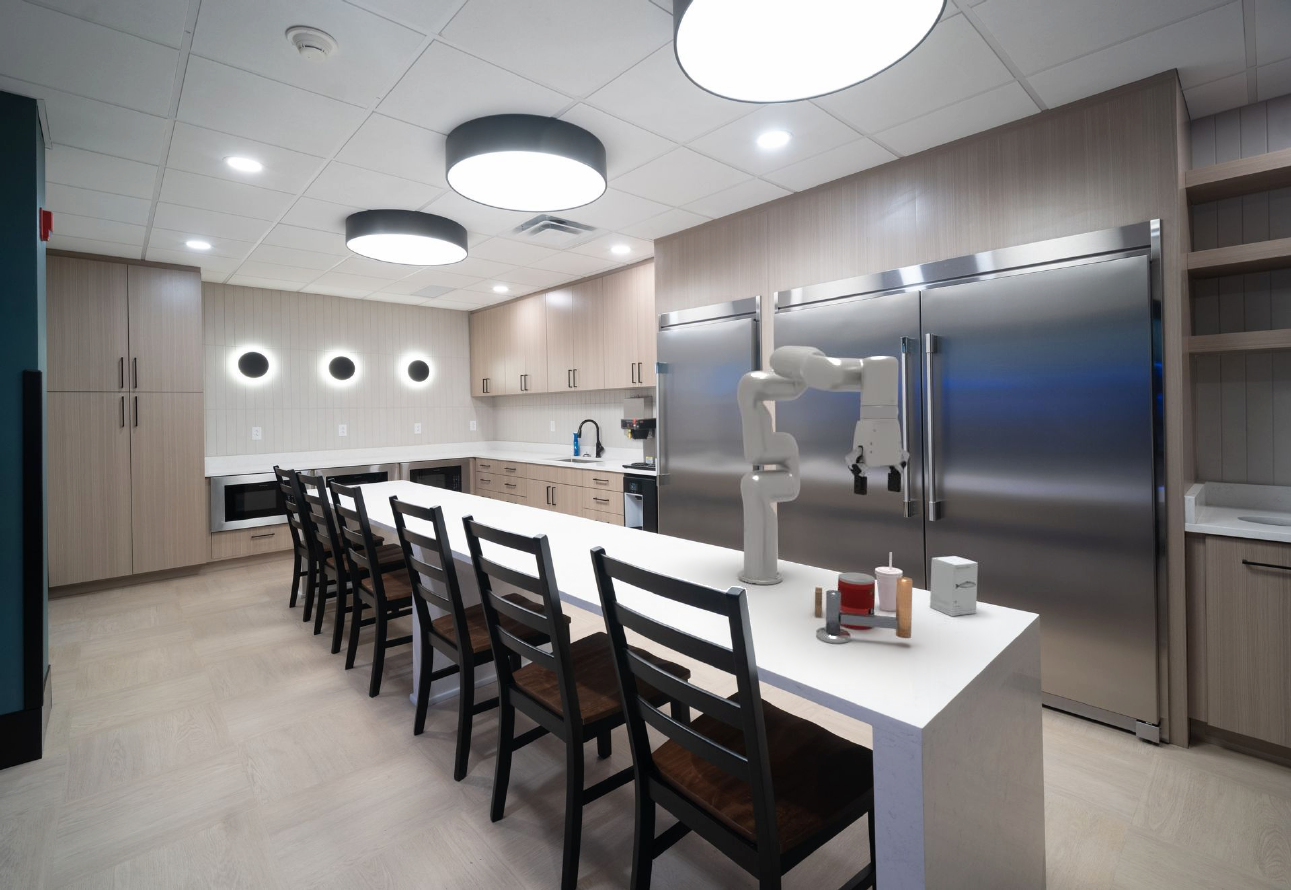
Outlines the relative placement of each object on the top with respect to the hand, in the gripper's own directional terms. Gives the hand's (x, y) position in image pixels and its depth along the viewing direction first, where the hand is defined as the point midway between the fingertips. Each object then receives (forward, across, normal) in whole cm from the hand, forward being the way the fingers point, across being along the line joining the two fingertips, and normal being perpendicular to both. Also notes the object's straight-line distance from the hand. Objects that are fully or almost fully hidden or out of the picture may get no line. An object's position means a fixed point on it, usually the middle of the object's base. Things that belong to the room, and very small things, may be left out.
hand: (877, 492), depth 129 cm
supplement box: (+31, -28, -3) cm, 42 cm away
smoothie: (+31, -15, -10) cm, 36 cm away
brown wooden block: (+31, +4, -14) cm, 34 cm away
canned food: (+31, 0, -6) cm, 32 cm away
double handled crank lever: (+30, +5, +3) cm, 30 cm away
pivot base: (+31, +10, -2) cm, 33 cm away
